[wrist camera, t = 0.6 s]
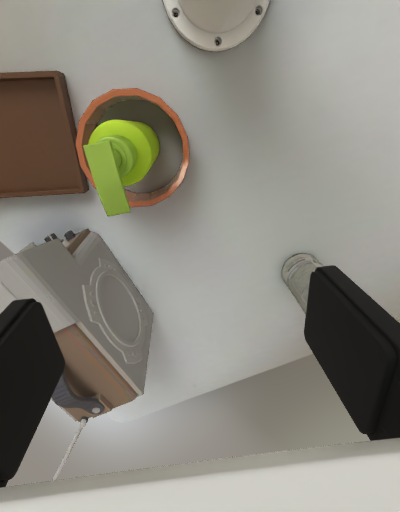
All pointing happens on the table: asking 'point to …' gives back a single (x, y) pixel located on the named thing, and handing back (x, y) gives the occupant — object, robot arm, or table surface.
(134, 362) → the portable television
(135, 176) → the soap dispenser
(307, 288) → the spray can
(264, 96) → the table surface
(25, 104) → the tray
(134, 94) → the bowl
